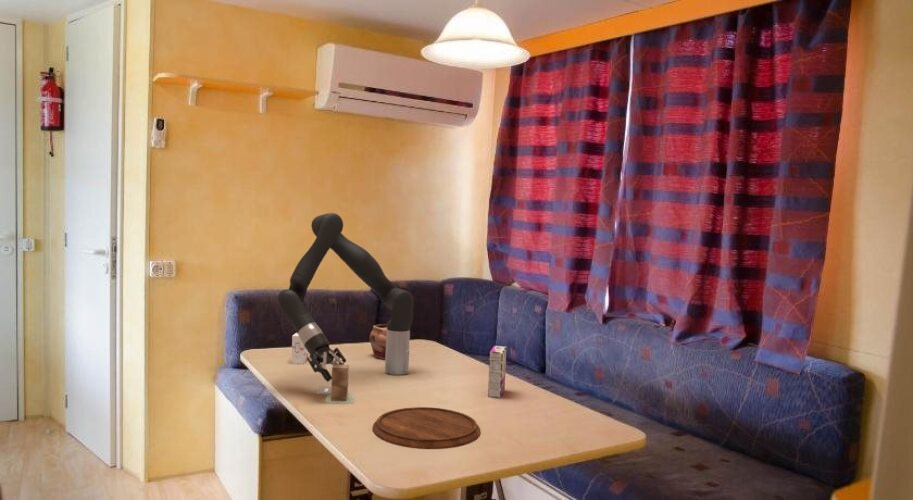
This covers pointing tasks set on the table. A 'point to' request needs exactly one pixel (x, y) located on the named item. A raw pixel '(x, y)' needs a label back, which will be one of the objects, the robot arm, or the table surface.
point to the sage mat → (349, 400)
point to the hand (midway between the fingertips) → (338, 377)
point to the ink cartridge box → (298, 350)
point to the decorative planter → (379, 340)
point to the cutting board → (426, 428)
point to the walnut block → (339, 382)
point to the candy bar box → (497, 371)
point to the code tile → (324, 390)
